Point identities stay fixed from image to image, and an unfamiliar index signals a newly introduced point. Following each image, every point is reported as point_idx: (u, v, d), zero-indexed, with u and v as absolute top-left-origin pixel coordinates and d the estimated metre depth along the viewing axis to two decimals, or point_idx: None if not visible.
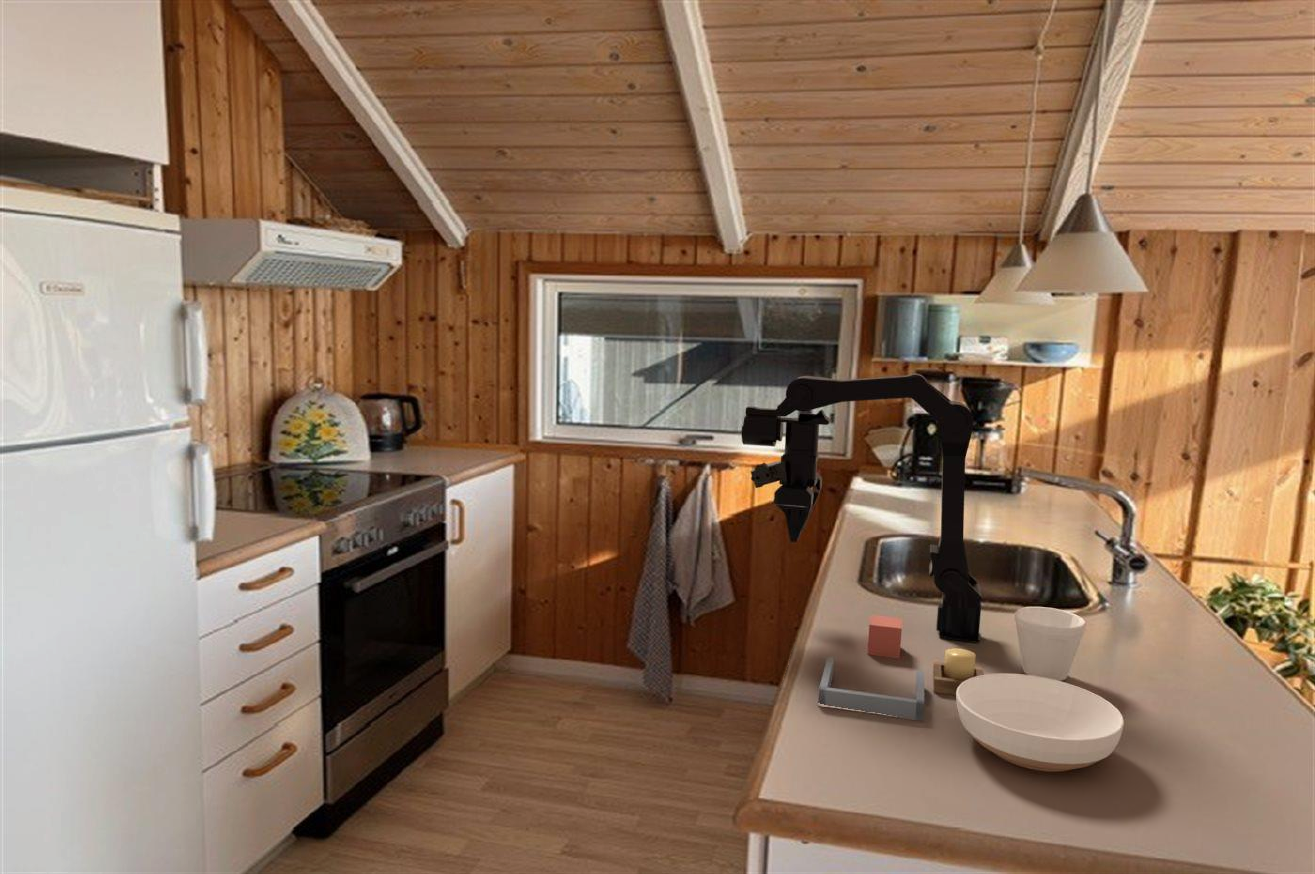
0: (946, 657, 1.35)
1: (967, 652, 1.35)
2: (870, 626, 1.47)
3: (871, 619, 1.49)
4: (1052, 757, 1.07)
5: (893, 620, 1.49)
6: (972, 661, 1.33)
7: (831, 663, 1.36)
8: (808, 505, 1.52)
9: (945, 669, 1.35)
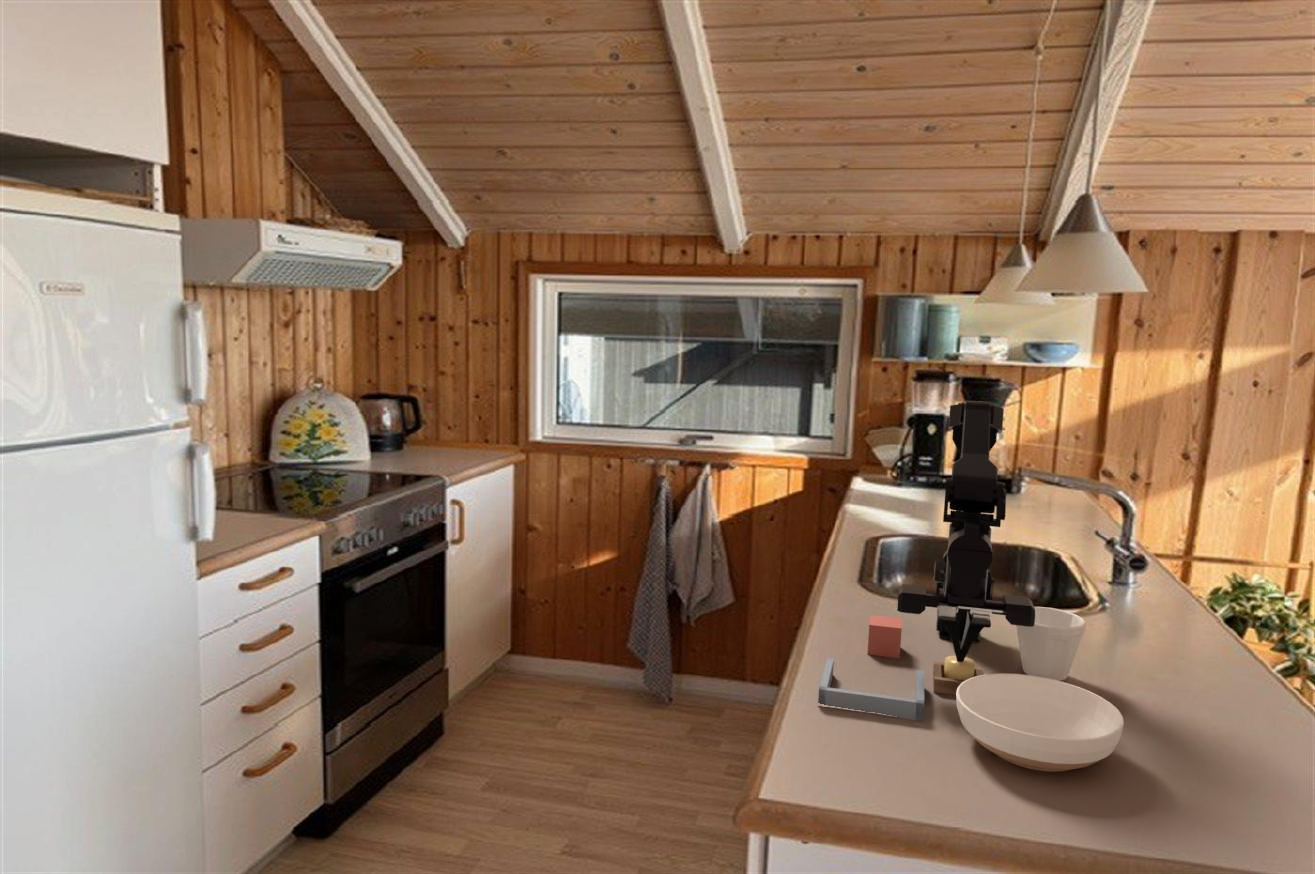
0: (945, 664, 1.35)
1: (966, 659, 1.36)
2: (870, 626, 1.47)
3: (871, 619, 1.49)
4: (1052, 757, 1.07)
5: (893, 620, 1.49)
6: (971, 668, 1.33)
7: (831, 663, 1.36)
8: (898, 609, 1.34)
9: (944, 676, 1.35)
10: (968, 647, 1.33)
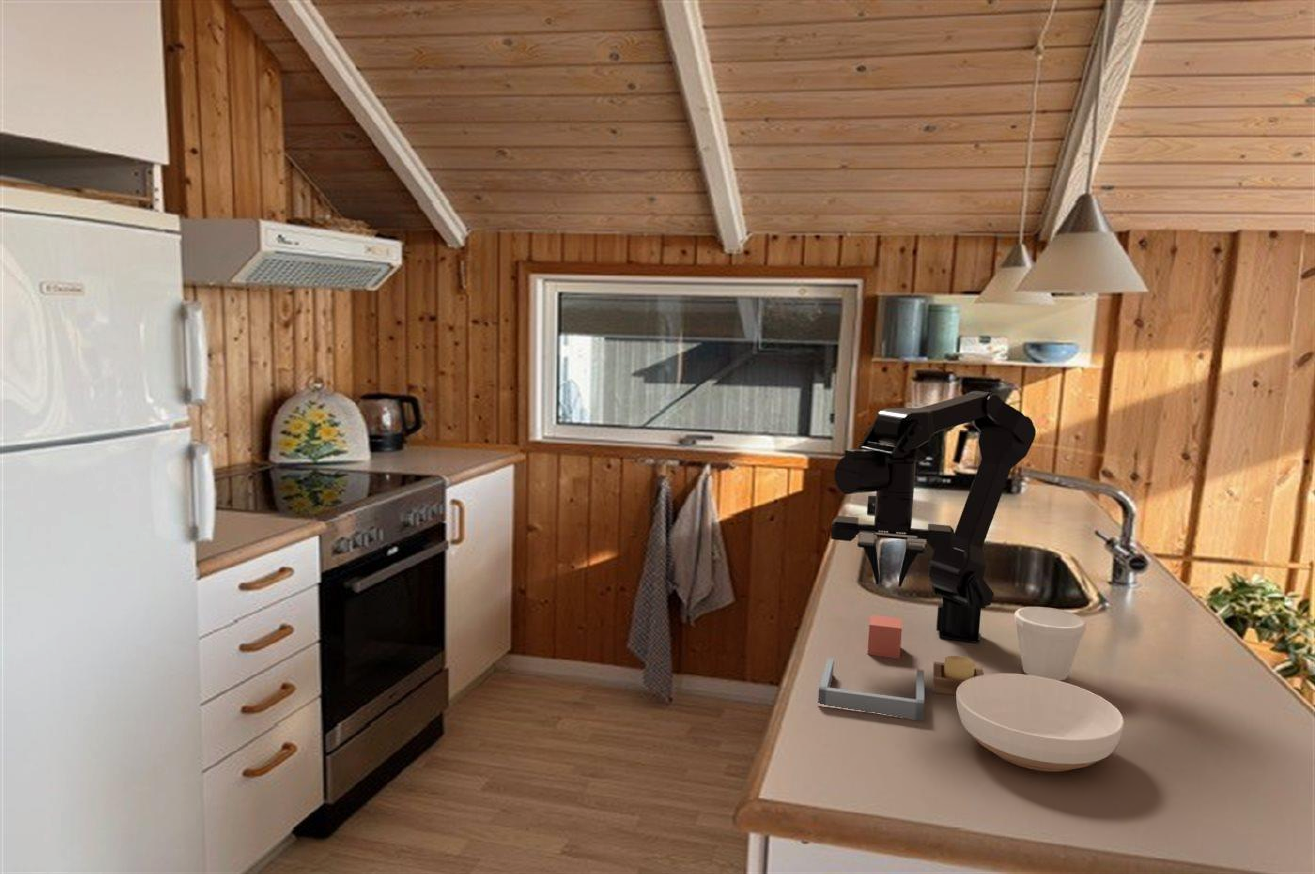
0: (945, 664, 1.35)
1: (966, 659, 1.36)
2: (870, 626, 1.47)
3: (871, 619, 1.49)
4: (1052, 757, 1.07)
5: (893, 620, 1.49)
6: (971, 668, 1.33)
7: (831, 663, 1.36)
8: (832, 537, 1.46)
9: (944, 676, 1.35)
10: (905, 572, 1.45)
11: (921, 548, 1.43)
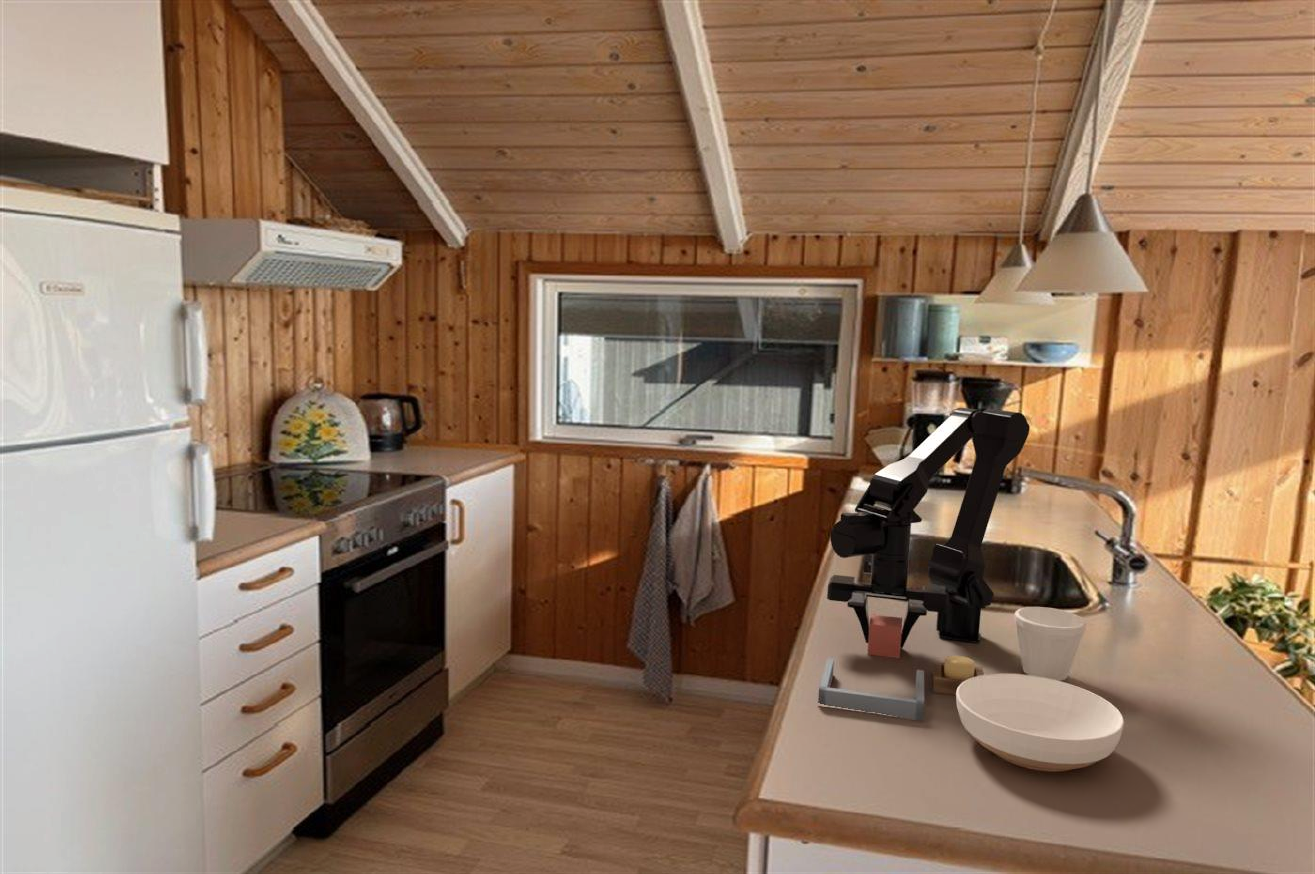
0: (945, 664, 1.35)
1: (966, 659, 1.36)
2: (870, 625, 1.47)
3: (871, 618, 1.49)
4: (1052, 757, 1.07)
5: (893, 620, 1.49)
6: (971, 668, 1.33)
7: (831, 663, 1.36)
8: (828, 598, 1.48)
9: (944, 676, 1.35)
10: (907, 634, 1.46)
11: (923, 610, 1.45)
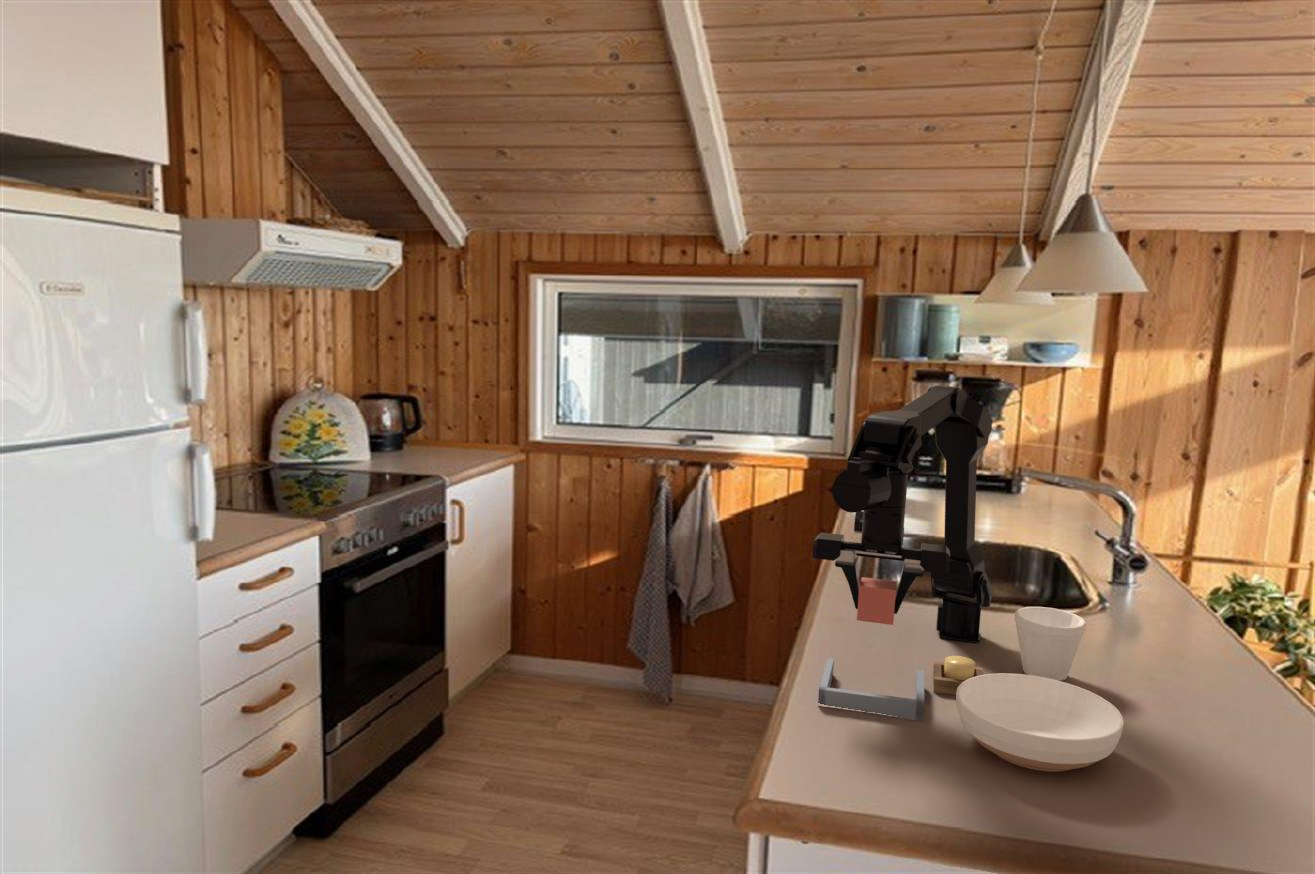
0: (945, 664, 1.35)
1: (966, 659, 1.36)
2: (860, 588, 1.30)
3: (862, 581, 1.32)
4: (1052, 757, 1.07)
5: (887, 583, 1.32)
6: (971, 668, 1.33)
7: (831, 663, 1.36)
8: (813, 556, 1.31)
9: (944, 676, 1.35)
10: (901, 598, 1.29)
11: (920, 571, 1.28)
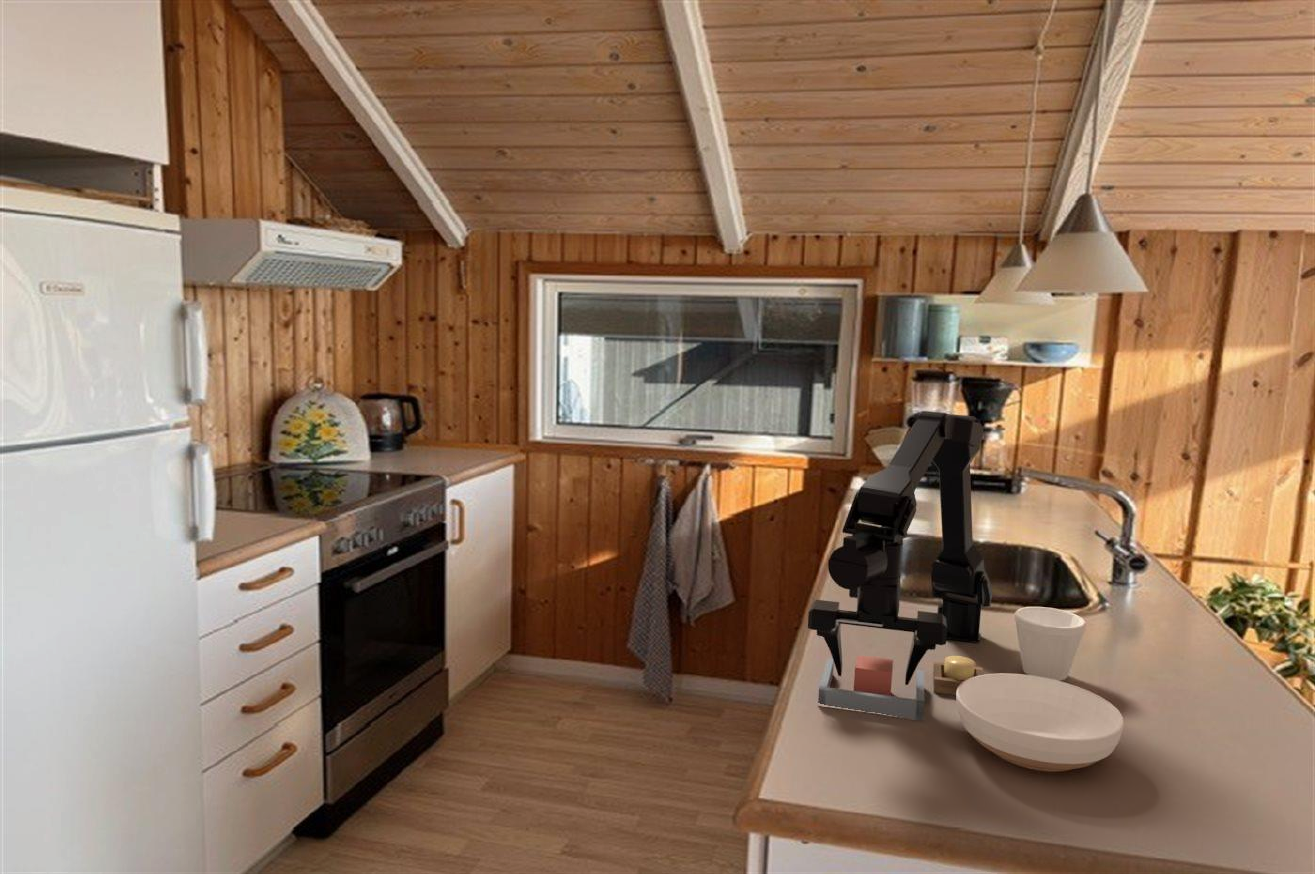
0: (945, 664, 1.35)
1: (966, 659, 1.36)
2: (856, 669, 1.29)
3: (858, 660, 1.31)
4: (1052, 757, 1.07)
5: (883, 662, 1.31)
6: (971, 668, 1.33)
7: (831, 663, 1.36)
8: (808, 626, 1.30)
9: (944, 676, 1.35)
10: (913, 670, 1.28)
11: (931, 643, 1.26)
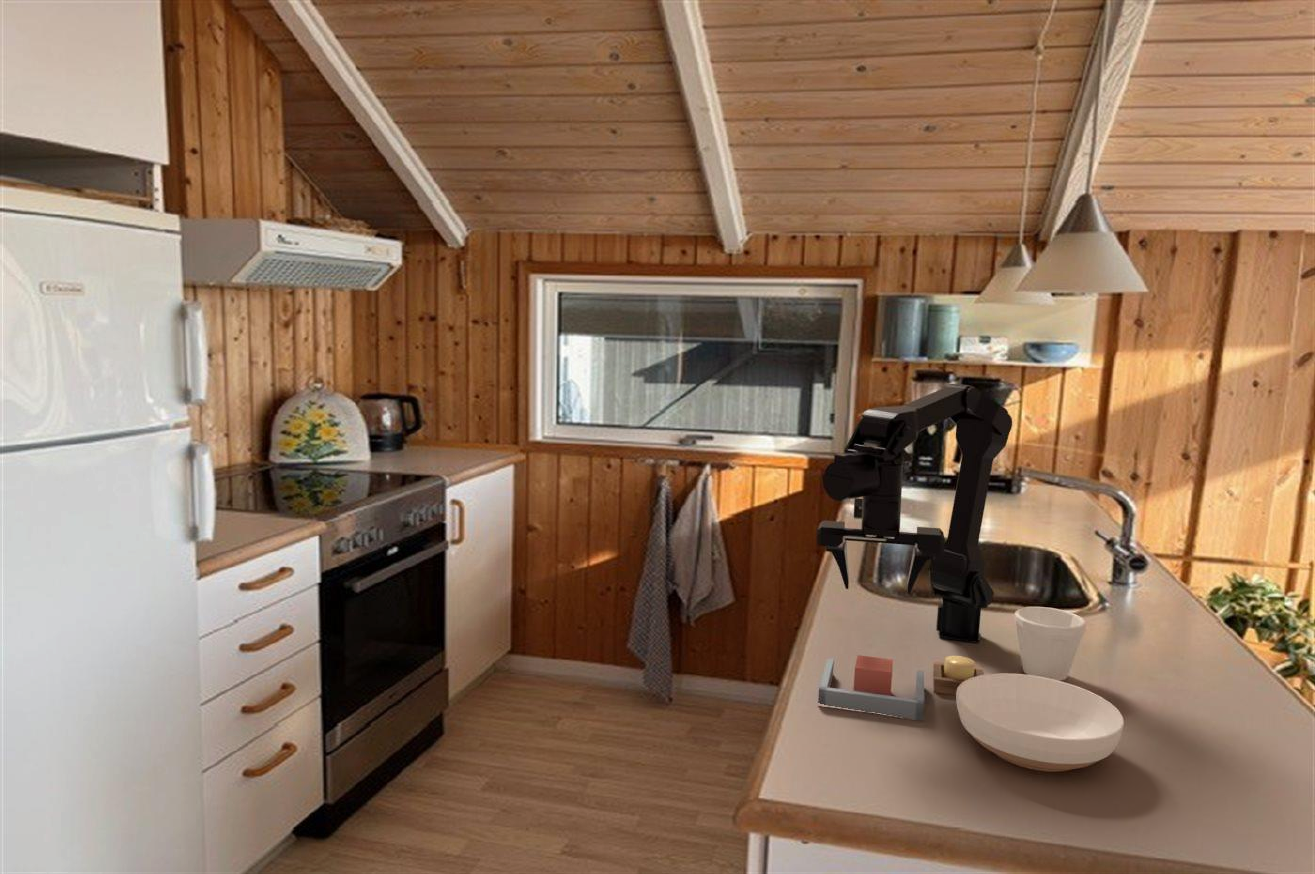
0: (945, 664, 1.35)
1: (966, 659, 1.36)
2: (856, 669, 1.29)
3: (857, 660, 1.31)
4: (1052, 757, 1.07)
5: (883, 662, 1.31)
6: (971, 668, 1.33)
7: (831, 663, 1.36)
8: (818, 543, 1.41)
9: (944, 676, 1.35)
10: (914, 579, 1.39)
11: (930, 554, 1.38)
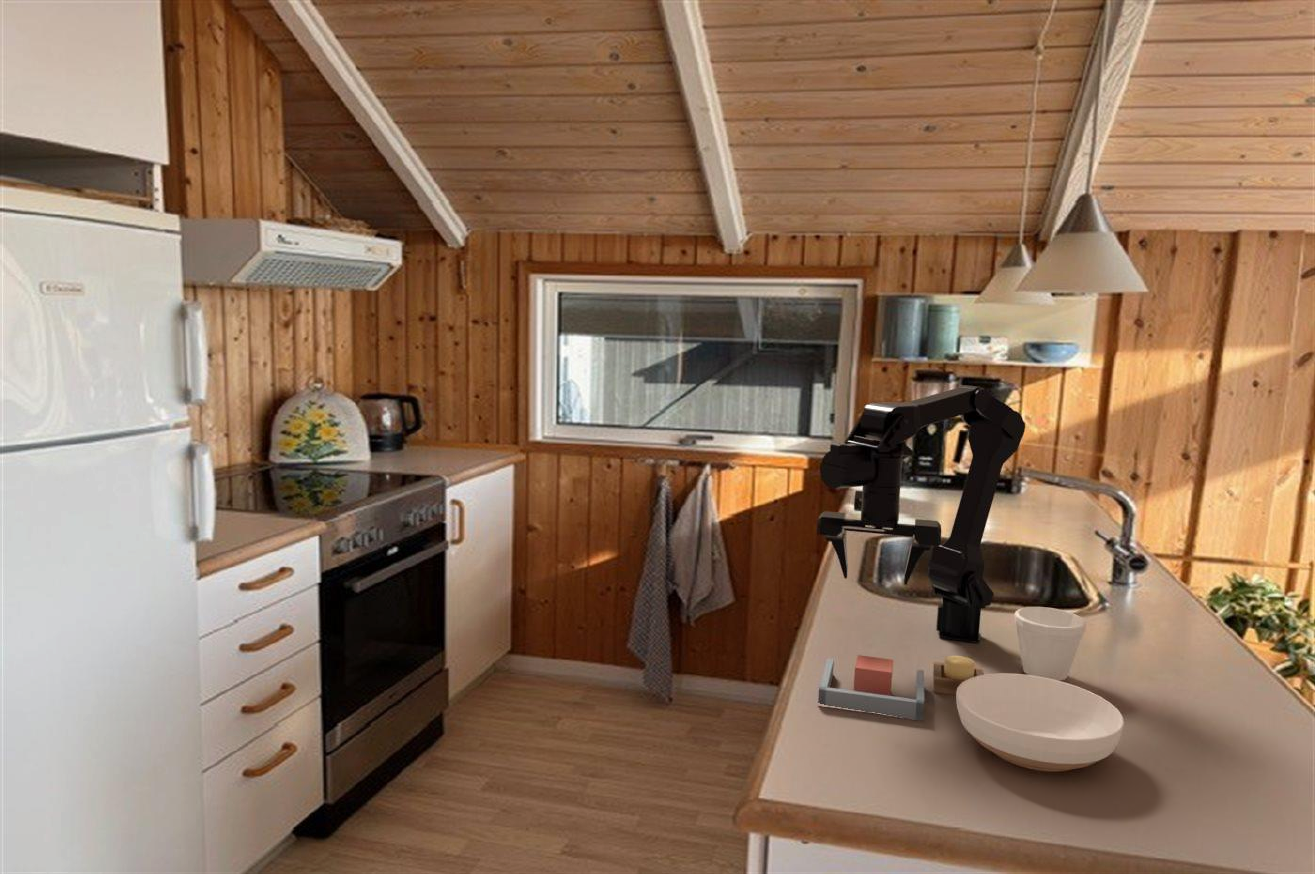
0: (945, 664, 1.35)
1: (966, 659, 1.36)
2: (856, 669, 1.29)
3: (858, 660, 1.31)
4: (1052, 757, 1.07)
5: (883, 662, 1.31)
6: (971, 668, 1.33)
7: (831, 663, 1.36)
8: (818, 533, 1.45)
9: (944, 676, 1.35)
10: (911, 570, 1.43)
11: (927, 545, 1.41)
